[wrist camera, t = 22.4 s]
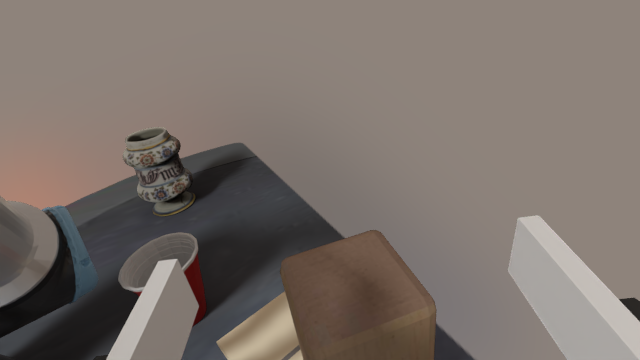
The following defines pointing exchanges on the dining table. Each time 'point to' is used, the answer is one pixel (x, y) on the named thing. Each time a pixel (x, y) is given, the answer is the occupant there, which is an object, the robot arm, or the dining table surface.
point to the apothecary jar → (159, 170)
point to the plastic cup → (161, 249)
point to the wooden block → (358, 302)
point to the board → (264, 335)
